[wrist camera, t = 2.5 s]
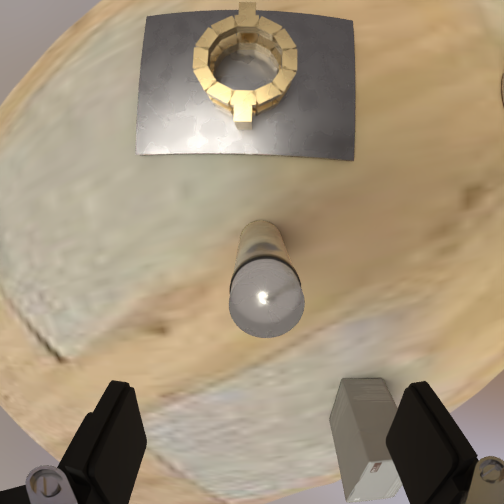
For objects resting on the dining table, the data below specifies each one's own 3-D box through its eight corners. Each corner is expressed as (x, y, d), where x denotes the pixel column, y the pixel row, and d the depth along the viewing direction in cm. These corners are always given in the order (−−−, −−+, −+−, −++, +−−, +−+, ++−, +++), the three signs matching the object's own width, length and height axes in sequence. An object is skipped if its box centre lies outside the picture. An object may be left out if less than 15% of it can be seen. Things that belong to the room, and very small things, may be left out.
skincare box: (367, 417, 41) (398, 498, 26) (322, 419, 41) (343, 507, 26) (384, 374, 39) (429, 457, 24) (336, 375, 39) (369, 467, 23)
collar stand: (349, 25, 27) (370, -3, 20) (349, 160, 32) (375, 160, 24) (150, 21, 27) (128, -7, 20) (140, 155, 31) (111, 153, 24)
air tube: (283, 220, 33) (309, 269, 18) (281, 262, 35) (302, 339, 19) (239, 218, 33) (227, 266, 18) (238, 261, 34) (227, 338, 19)
